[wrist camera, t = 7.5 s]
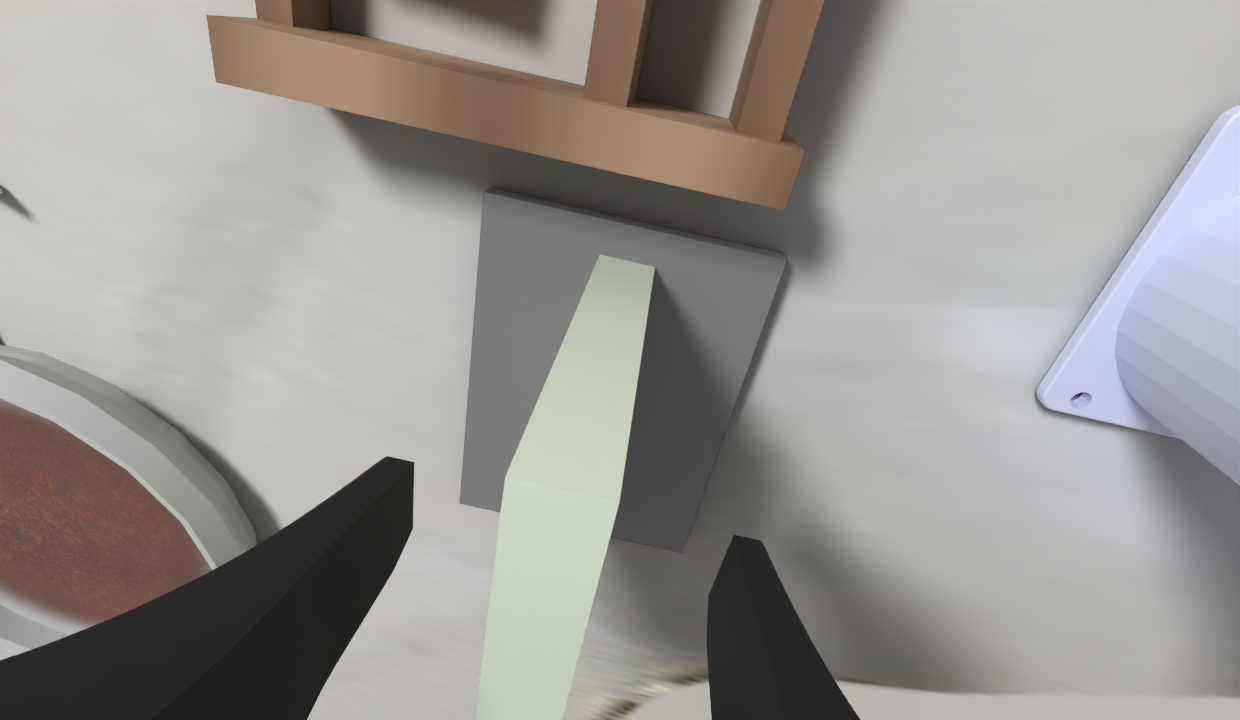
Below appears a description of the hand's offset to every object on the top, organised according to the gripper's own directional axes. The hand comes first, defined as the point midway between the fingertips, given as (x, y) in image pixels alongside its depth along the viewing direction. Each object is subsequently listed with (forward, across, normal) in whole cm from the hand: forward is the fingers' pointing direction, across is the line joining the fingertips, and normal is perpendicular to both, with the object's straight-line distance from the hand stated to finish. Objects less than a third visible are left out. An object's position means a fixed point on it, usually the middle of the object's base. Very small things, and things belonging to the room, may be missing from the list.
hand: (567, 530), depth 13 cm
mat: (+6, 0, 0) cm, 6 cm away
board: (+5, 0, 0) cm, 5 cm away
